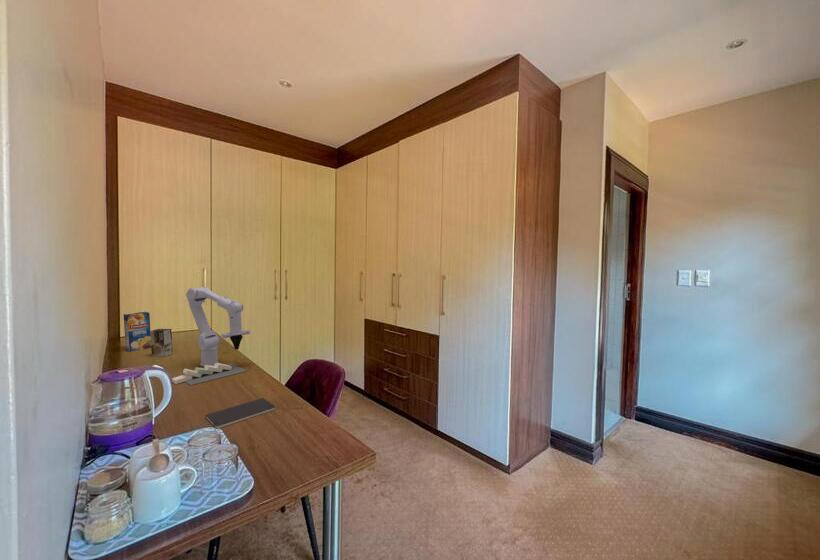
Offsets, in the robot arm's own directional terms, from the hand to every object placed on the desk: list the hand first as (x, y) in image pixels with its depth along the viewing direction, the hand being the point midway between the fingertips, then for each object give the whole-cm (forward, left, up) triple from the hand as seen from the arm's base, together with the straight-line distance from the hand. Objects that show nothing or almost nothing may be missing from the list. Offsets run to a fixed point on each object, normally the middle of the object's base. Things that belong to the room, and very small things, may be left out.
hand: (236, 349), depth 184 cm
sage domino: (+2, -14, -9) cm, 16 cm away
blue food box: (-92, -26, -10) cm, 96 cm away
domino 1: (+2, -23, -8) cm, 25 cm away
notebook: (+60, -23, -11) cm, 65 cm away
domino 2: (+2, -19, -9) cm, 21 cm away
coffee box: (-61, -20, -10) cm, 65 cm away
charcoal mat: (+2, -13, -10) cm, 16 cm away
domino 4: (+2, -5, -9) cm, 10 cm away
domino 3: (+2, -9, -9) cm, 13 cm away
